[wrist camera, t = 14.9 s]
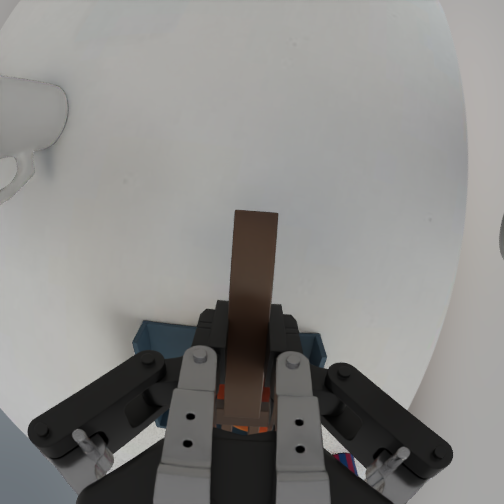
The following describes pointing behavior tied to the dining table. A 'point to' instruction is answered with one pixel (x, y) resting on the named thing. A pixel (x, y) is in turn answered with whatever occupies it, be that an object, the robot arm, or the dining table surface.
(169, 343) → the dustpan
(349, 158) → the dining table surface
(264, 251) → the fork
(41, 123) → the mug
